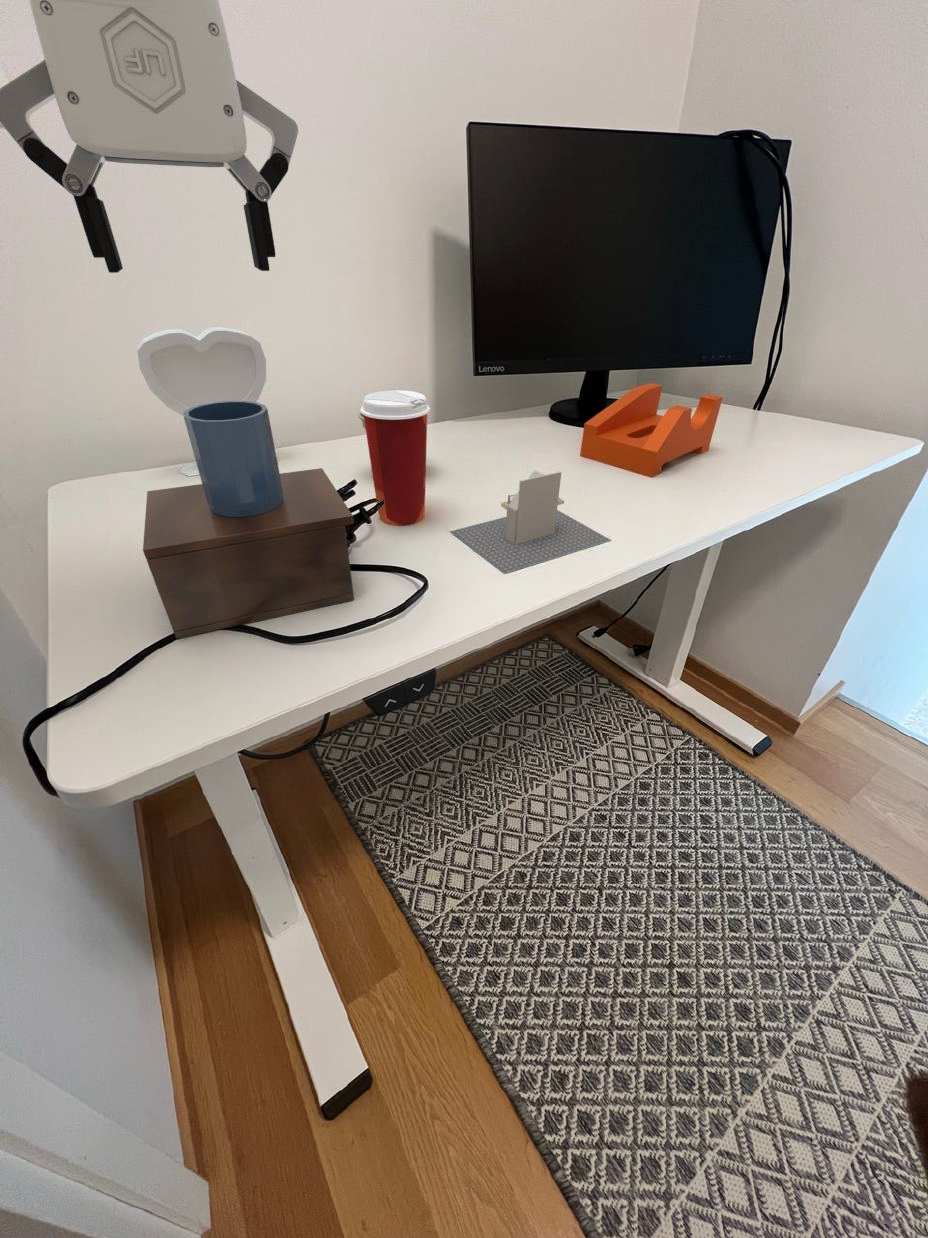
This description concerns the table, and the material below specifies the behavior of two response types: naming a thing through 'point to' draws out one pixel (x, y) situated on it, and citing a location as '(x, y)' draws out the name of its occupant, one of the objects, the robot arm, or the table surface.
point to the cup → (235, 457)
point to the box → (253, 580)
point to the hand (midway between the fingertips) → (192, 270)
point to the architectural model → (530, 528)
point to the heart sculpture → (202, 369)
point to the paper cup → (397, 452)
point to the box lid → (191, 525)
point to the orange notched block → (648, 431)
